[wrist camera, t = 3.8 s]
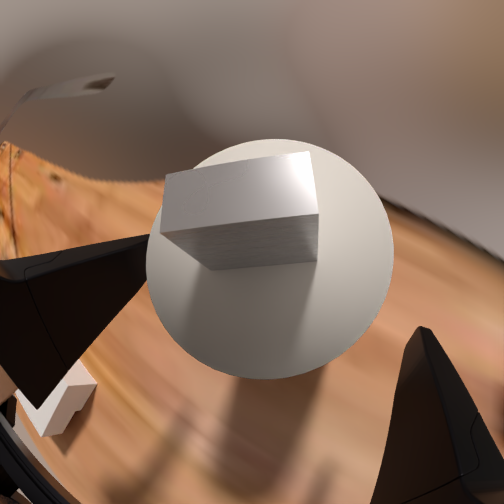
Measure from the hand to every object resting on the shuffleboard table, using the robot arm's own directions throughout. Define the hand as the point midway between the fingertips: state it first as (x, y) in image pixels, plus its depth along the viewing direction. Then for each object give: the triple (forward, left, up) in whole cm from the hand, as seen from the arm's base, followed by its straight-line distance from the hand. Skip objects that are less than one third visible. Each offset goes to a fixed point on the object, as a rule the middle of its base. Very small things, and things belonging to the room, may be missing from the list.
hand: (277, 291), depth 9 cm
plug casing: (0, 0, -8) cm, 8 cm away
